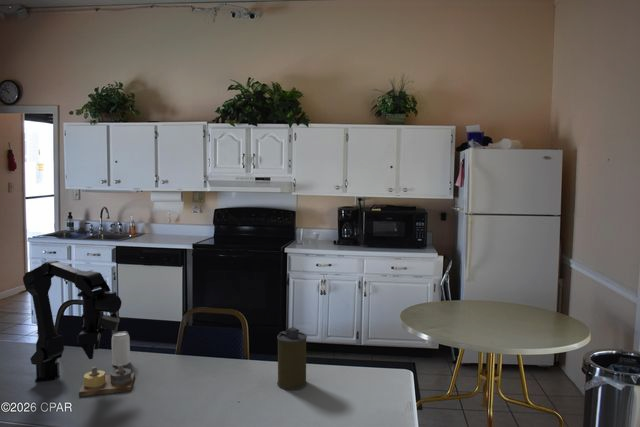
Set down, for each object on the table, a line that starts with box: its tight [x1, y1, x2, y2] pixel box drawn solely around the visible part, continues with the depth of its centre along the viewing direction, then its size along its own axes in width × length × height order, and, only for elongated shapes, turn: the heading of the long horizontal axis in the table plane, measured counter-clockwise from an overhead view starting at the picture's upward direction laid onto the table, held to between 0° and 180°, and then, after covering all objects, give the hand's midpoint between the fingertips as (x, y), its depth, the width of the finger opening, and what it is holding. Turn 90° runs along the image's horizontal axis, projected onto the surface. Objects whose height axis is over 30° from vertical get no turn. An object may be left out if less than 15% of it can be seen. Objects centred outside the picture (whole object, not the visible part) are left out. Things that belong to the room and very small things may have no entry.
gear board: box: [78, 364, 136, 397], centre depth 164 cm, size 16×12×7 cm
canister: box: [276, 326, 308, 391], centre depth 166 cm, size 11×10×20 cm
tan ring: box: [83, 369, 106, 387], centre depth 163 cm, size 6×6×3 cm
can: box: [111, 330, 131, 367], centre depth 183 cm, size 6×6×12 cm
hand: (93, 353), depth 162 cm, fingers open, 9 cm apart
